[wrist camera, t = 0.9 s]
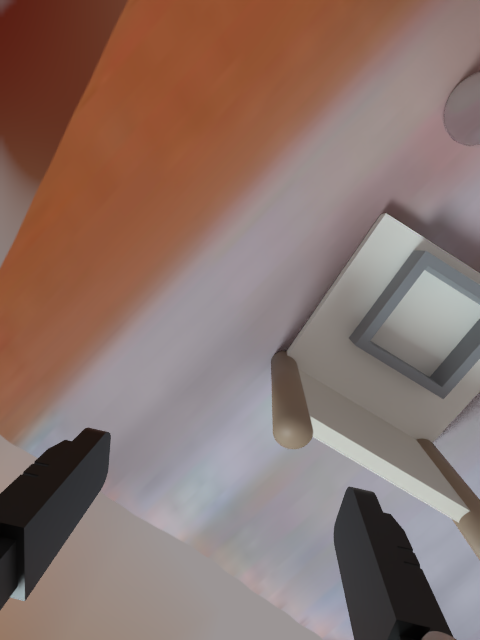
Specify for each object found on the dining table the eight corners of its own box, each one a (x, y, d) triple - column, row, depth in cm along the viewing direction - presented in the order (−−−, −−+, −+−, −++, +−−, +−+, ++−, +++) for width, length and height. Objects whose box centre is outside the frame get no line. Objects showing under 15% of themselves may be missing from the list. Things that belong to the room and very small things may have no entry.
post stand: (372, 209, 32) (450, 182, 18) (543, 318, 33) (737, 370, 19) (266, 366, 37) (265, 436, 23) (417, 456, 38) (500, 573, 24)
